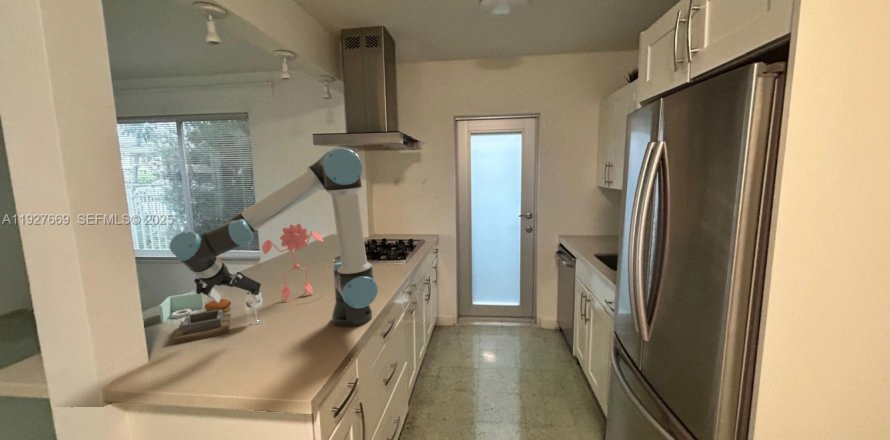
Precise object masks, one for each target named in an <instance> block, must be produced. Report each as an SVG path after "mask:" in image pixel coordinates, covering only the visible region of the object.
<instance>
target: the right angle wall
mask: <svg viewBox="0 0 890 440" xmlns="http://www.w3.org/2000/svg"><path fill="white" fill-rule="evenodd" d="M158 309H159V310H158V311H159V315H160V316H159V317H160V322H161V323H160V324H164V323H165V322H166V321H167V320H168V319H167V318H170V317H171V318H172V319H175V320H176V319H178V318H179V319H183V318H184V319H185V318H186V316H187V315H190V314H193V311H194V310H195V311H196V310H200V309H205V304H204V294H203V293H200V294H197V293H196V292H194V293H186V294H185V293H183V294H178V295H177V294H176V295H171V296H167V298H165V300H163V301H162V302H161V304H159V305H158ZM179 319H178V320H179Z"/></svg>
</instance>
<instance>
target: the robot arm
mask: <svg viewBox="0 0 890 440" xmlns="http://www.w3.org/2000/svg"><path fill="white" fill-rule="evenodd" d="M362 172H363V163H362V160H361V159H360V157H359V155H358V154H357V153H356V152H355V151H353V150H351V149H349V148H346V147H337V148H336V147H335V148H333V149H331V150H329V151H327V152H326V153H324V154H323V155H322V156H321V157H320V158H319V159H318V160H316V162H314V163H312V164H311V165H309V166H308V167H307V169H306V172H304V173H303V174H301V175H299V176H298V177H296V178H294V179H293V180H291V181H289V182H287V183H286V184H285V185H283V186H281V187H280V188H278V189H277V190H275V191H273V192H272V193H270V194H269V195H267V196H265V197H264V198H262V199H260V200H259V201H258V202H257V201H256V203H254V204H253V205H251V206H249V207H247V208H246V209H244V210H243V211H242V212H240V213H238V214H237V215H235V216H233V217H232V218H229V219H227V220H226V221H224V222H223V224H222V225H221V226H219V227H217V228H213V229H212V230H209V231H206V232H202V233H200V234H198V233H197V232H196V231H187V230H186V231H182V232H180V233H178V234H177V235H175V236H174V237H173V238H172V239H171V240H170V243H169V249H170V251H171V252H172V254H173V255H174V257H176V259H177V260H178V261H180V262H181V263H182V264H183V265H185V266H186V267H187V268H188V269H189V270H190V271H191V272H192V273H193V274H194V275H195V278H194V281H193V282H194V283H195V285H196V288H195V290H196V292H195V293H197V294H200V293H202V295H205V296H207V297H208V298H210V299H211V300H212V301H215V302H216V303H219V301H220V299H222V295H221V294H220V293H219V291H217V290H216V289H215V288H214V287H215V286H220V287H221V286H227V287H229V288H233V287H235V288H238V289H240V290H245V291H247V292H249V293H250V294H251V295H252V297H253V298H254V299H255V300H256V301H259V298H260V295H262V293H261V294H260V293H259V291H260V289H261V285H262V284H261V282H258V281H256V280H254V279H252V278H250V277H249V276H246V275H244V274H243V273H242V272H240V271H237V273H236V274H232V273H230V272H229V268H228V267H227V265H226V264H225V263H224V262H223V261H222V260H221V259H220V258H219V256H220V255H223V254H225V253H228V252H229V251H233V250H234V249H236V248H240V247H243V246H246V245H247V244H248V243H250V242H252V241H254V232H256V231H257V230H259V229H261V228H262V227H264V226H265V225H267V224H268V223H270V222H272V221H273V220H275V219H276V218H278V217H279V216H281V215H282V214H284V213H286V212H287V211H289V210H290V209H292V208H294V207H295V206H296V205H299V204H300V203H301V202H303V201H304V200H306V199H307V198H310V196H312V195H314V194H315V193H317V192H319V191H321V190H322V191H325V192H326V193H328V194H329V195H330V196H331V203H332V210H333V214H334V215H333V216H334V221H335V222H334V223H335V230H336V236H337V243H338V251H339V258H340V261H338V262H335V263H334V264H333V270H332V273H333V282H334V284H333V285H334V296H335V297H334V298H335V302H334V303H335V304H334V307H333V310H332V313H331V320H332V321H331V322H332V324H334V325H335V326H338V327H356V326H360V325H362V324H365V323H367V322H369V321H371V320H372V319H373V312H372V311H373V310H372V307H371V304H372V303H373V302H374V301H375V300H376V297H377V296H378V292H379V291H378V290H379V287H378V284H377V282H376V280H375V279H374V272H373V266H372V264H371V263H370V262H369V261H368V260H367V253H366V245H365V238H364V230H363V222H362V221H363V220H362V213H361V208H360V207H361V206H360V200H359V192H360V191H361V189H362V188H363V187H362V180H361V179H362V178H361V176H362ZM204 284H206V285H205V287H204Z"/></svg>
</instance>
